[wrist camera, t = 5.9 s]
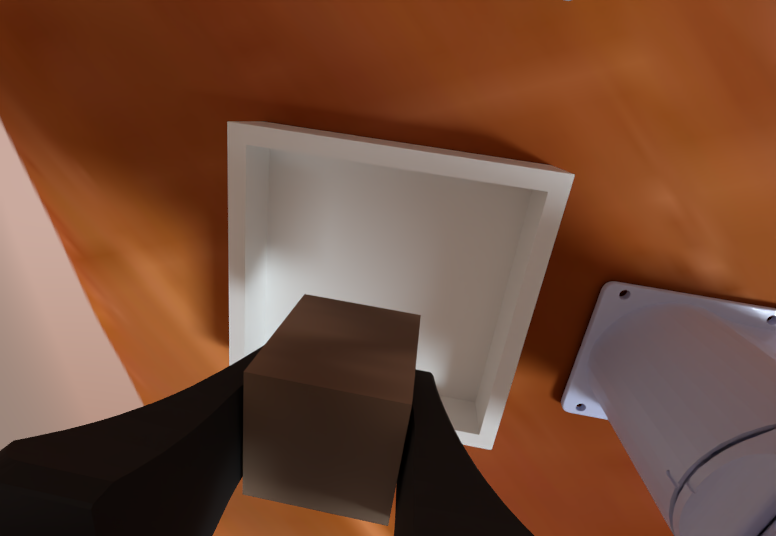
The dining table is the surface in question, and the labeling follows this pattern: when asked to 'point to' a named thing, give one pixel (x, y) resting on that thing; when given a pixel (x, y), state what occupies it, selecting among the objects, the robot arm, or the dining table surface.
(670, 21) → the dining table surface
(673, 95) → the dining table surface
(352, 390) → the walnut block
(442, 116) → the dining table surface
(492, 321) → the tote
